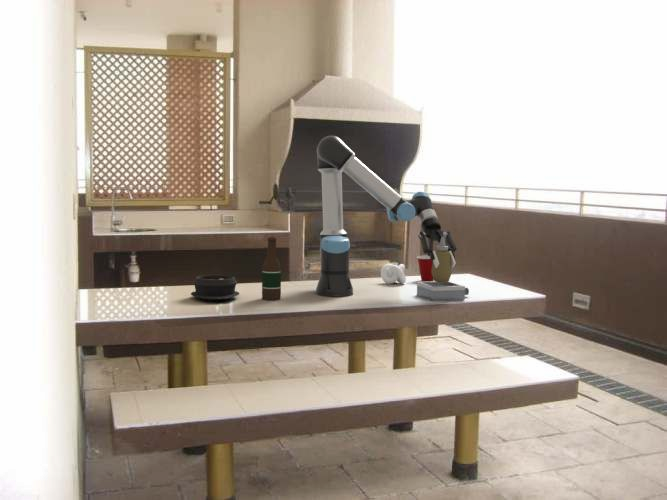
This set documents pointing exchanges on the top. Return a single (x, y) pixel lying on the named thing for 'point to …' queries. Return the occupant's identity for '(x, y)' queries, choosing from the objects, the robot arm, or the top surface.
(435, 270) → the squeeze bottle
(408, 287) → the top surface
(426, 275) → the plastic cup
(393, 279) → the white plush toy
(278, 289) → the beer bottle
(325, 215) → the robot arm
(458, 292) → the box
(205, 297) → the casserole
